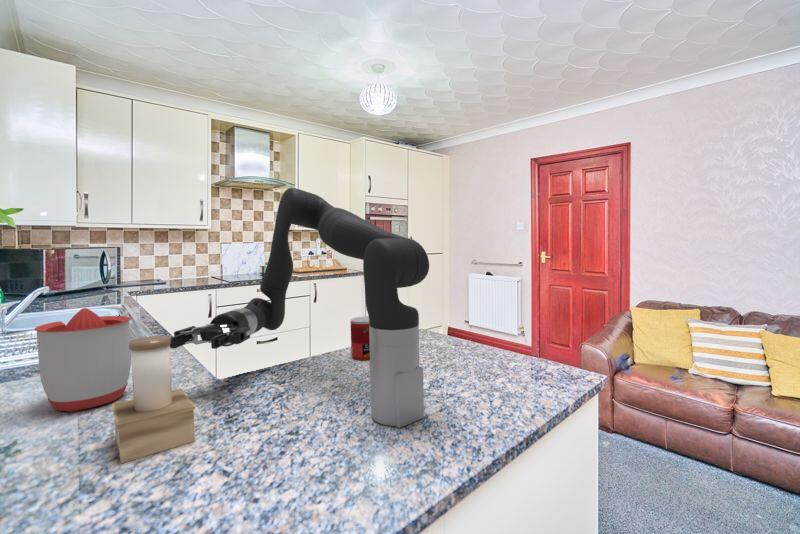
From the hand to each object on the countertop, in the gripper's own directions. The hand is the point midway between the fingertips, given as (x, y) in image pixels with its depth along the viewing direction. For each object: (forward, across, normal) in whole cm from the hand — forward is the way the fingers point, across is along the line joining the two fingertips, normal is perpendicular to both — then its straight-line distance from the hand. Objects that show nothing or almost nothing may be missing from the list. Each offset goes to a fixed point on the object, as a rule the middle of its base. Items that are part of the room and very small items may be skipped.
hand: (192, 343), depth 75 cm
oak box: (+11, 0, +14) cm, 17 cm away
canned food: (-38, +27, +14) cm, 49 cm away
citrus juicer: (-5, -27, +14) cm, 31 cm away
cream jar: (+11, 0, +8) cm, 13 cm away
